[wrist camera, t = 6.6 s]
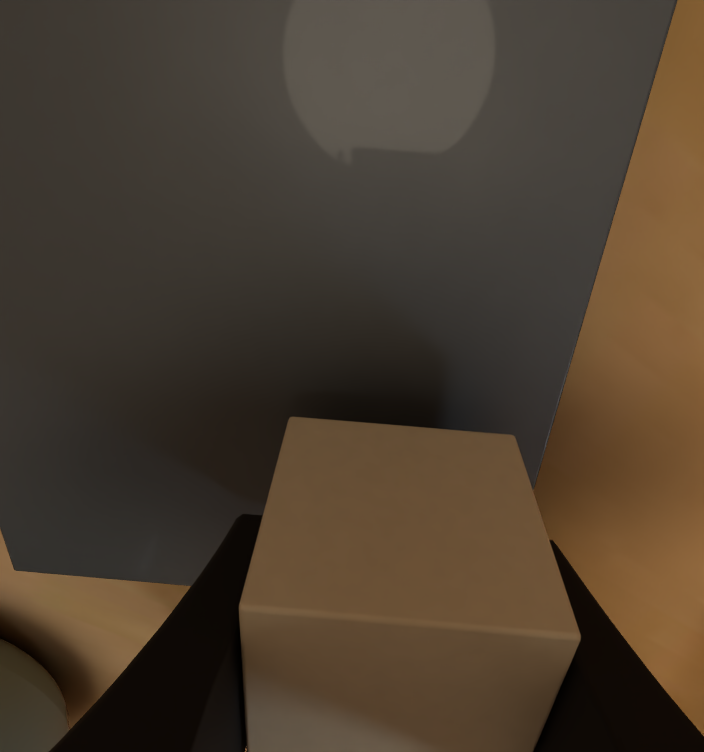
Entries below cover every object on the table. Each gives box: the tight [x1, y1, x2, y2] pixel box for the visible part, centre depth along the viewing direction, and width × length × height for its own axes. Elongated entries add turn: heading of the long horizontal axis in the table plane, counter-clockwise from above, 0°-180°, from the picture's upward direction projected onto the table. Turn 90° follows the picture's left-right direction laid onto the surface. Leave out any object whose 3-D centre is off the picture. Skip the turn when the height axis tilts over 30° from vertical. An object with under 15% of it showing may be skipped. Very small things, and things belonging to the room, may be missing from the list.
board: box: [0, 0, 677, 586], centre depth 11 cm, size 14×12×1 cm
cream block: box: [239, 417, 581, 752], centre depth 9 cm, size 4×4×4 cm
